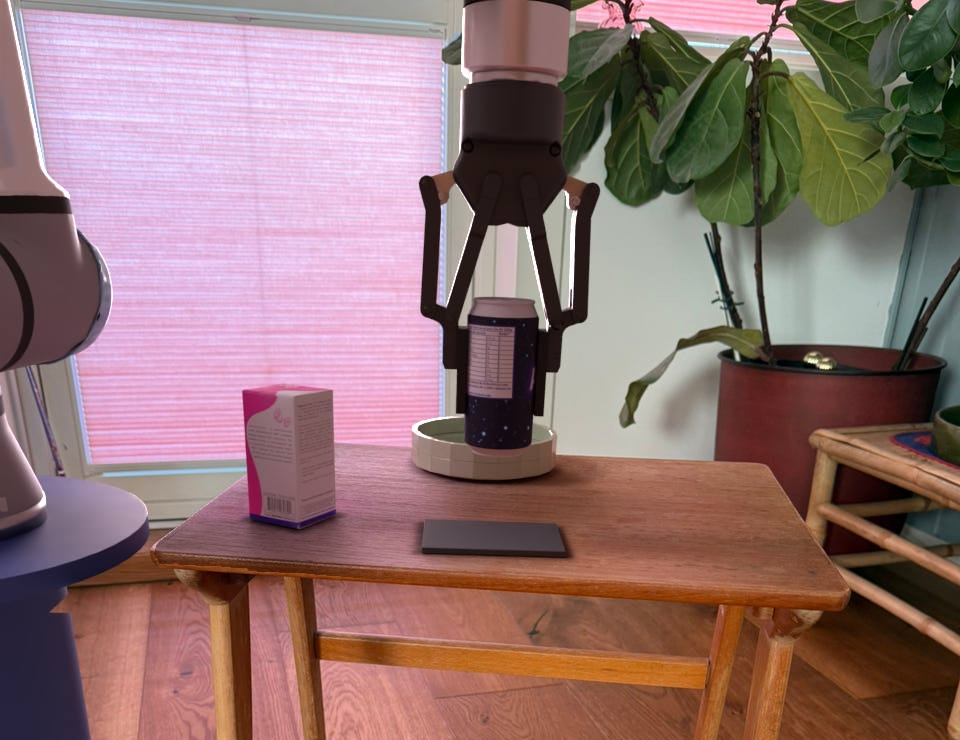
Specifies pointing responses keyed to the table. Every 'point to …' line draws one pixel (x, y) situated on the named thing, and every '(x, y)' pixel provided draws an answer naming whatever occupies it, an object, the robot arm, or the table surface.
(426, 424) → the bowl
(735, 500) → the table surface
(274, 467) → the supplement box
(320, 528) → the table surface
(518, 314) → the beverage can
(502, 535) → the mat
